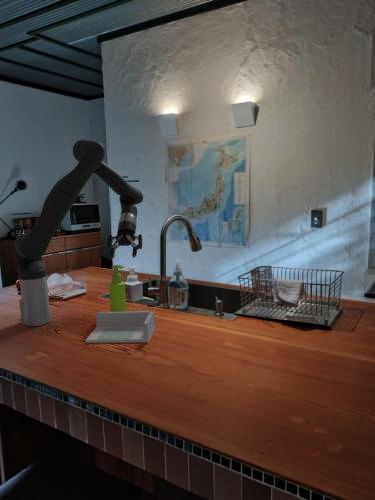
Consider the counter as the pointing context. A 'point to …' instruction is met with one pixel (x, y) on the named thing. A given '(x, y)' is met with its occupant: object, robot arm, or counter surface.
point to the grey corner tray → (122, 327)
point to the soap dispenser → (117, 291)
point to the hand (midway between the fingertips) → (123, 256)
